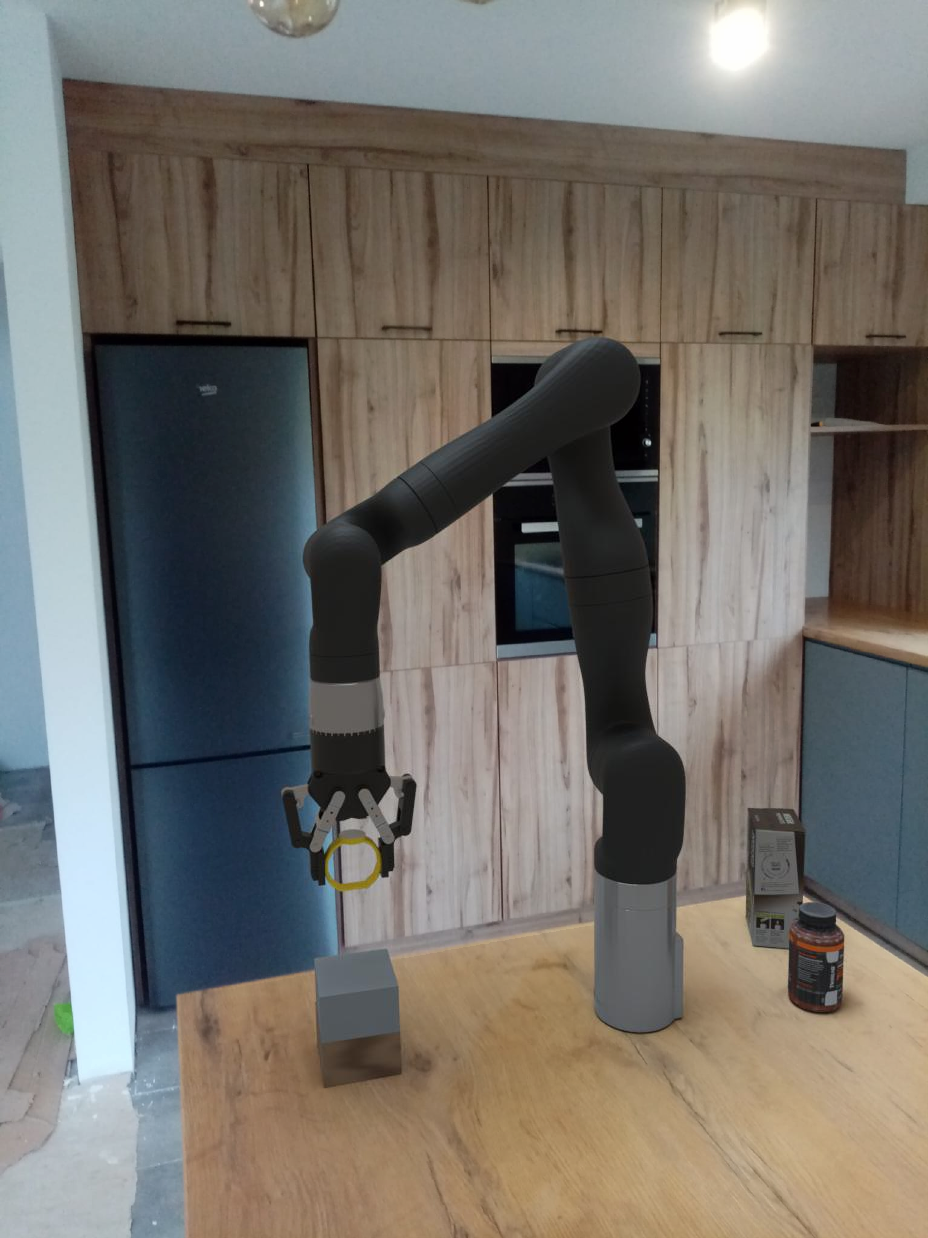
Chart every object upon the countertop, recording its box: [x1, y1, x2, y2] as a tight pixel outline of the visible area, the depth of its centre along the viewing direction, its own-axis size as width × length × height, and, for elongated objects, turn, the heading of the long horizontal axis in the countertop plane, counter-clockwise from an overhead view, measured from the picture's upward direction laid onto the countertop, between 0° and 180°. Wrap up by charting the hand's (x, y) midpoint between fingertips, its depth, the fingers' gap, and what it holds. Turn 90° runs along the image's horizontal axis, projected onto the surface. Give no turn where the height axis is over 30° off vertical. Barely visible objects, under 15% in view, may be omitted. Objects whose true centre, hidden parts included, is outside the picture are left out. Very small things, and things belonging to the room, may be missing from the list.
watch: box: [324, 828, 381, 893], centre depth 92 cm, size 6×3×6 cm, turn 106°
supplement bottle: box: [787, 901, 845, 1013], centre depth 103 cm, size 6×6×11 cm
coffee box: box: [745, 807, 807, 950], centre depth 119 cm, size 9×6×16 cm
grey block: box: [313, 948, 401, 1044], centre depth 94 cm, size 8×8×5 cm
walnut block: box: [315, 1001, 403, 1089], centre depth 94 cm, size 8×8×5 cm
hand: (352, 878), depth 92 cm, fingers closed on watch, 6 cm apart
